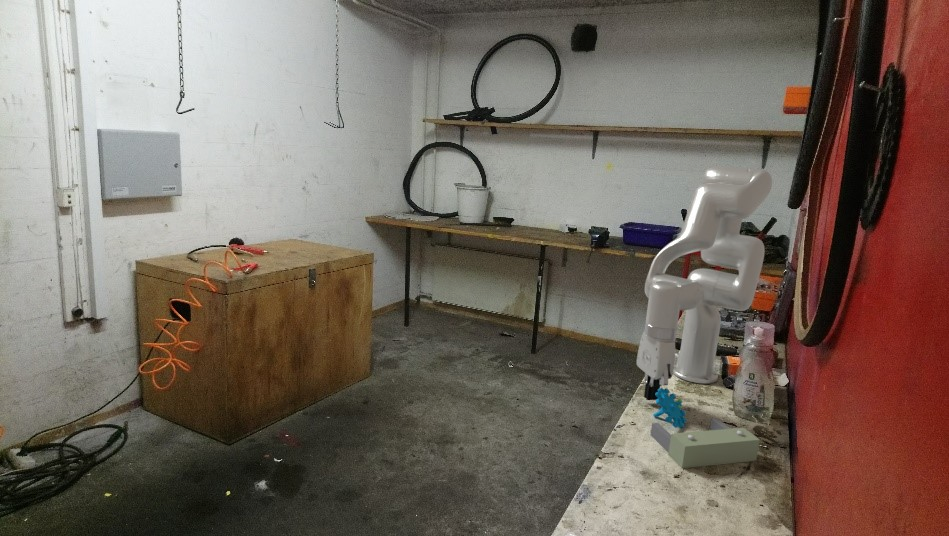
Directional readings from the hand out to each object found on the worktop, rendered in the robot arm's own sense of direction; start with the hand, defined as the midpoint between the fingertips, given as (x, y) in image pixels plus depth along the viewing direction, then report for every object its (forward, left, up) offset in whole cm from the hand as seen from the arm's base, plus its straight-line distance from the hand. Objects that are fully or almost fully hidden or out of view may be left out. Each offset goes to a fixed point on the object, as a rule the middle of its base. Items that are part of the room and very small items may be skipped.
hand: (650, 398), depth 141 cm
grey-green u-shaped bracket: (+21, 0, -1) cm, 21 cm away
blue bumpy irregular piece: (+9, 0, -2) cm, 9 cm away
